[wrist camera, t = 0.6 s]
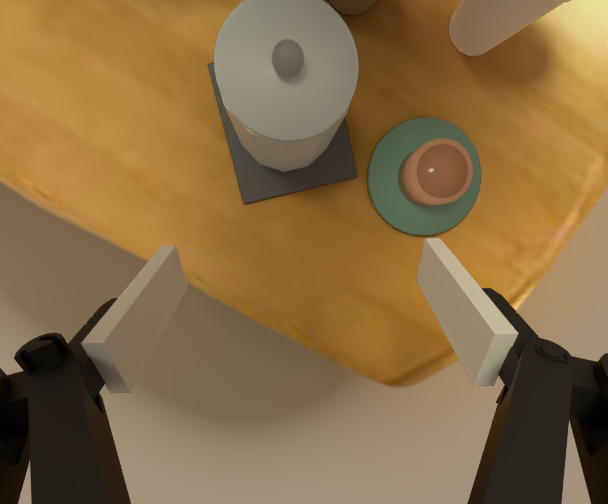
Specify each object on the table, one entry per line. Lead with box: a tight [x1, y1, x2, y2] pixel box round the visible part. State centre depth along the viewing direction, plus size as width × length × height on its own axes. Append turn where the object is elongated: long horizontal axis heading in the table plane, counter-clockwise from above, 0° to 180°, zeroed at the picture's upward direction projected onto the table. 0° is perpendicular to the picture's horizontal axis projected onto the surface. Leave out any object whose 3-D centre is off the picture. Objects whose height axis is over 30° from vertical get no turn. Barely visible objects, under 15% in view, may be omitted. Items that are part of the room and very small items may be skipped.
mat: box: [208, 63, 358, 204], centre depth 35 cm, size 16×14×1 cm
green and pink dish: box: [367, 117, 481, 235], centre depth 34 cm, size 14×14×5 cm
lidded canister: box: [214, 0, 359, 172], centre depth 27 cm, size 11×11×14 cm
